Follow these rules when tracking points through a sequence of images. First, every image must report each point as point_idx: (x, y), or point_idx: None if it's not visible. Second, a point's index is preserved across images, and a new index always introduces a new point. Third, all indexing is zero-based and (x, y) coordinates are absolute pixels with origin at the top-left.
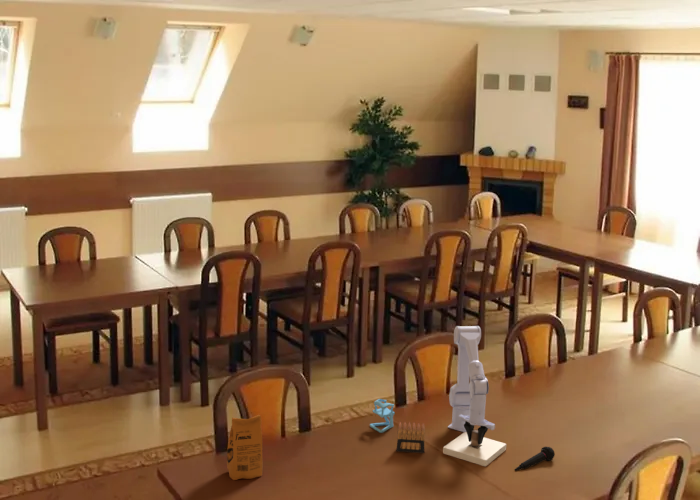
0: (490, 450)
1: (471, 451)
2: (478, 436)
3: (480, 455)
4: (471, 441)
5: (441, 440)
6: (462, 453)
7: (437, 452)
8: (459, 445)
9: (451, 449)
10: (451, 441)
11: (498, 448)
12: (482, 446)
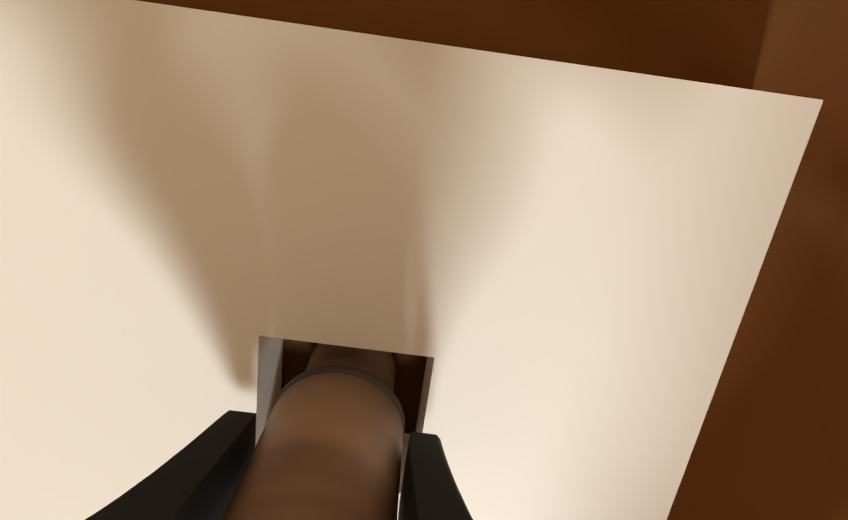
0: (72, 380)
1: (302, 198)
2: (171, 515)
3: (99, 125)
4: (378, 428)
5: (831, 450)
6: (418, 43)
7: (842, 82)
8: (561, 311)
9: (656, 90)
10: (718, 380)
11: (19, 484)
12: None
